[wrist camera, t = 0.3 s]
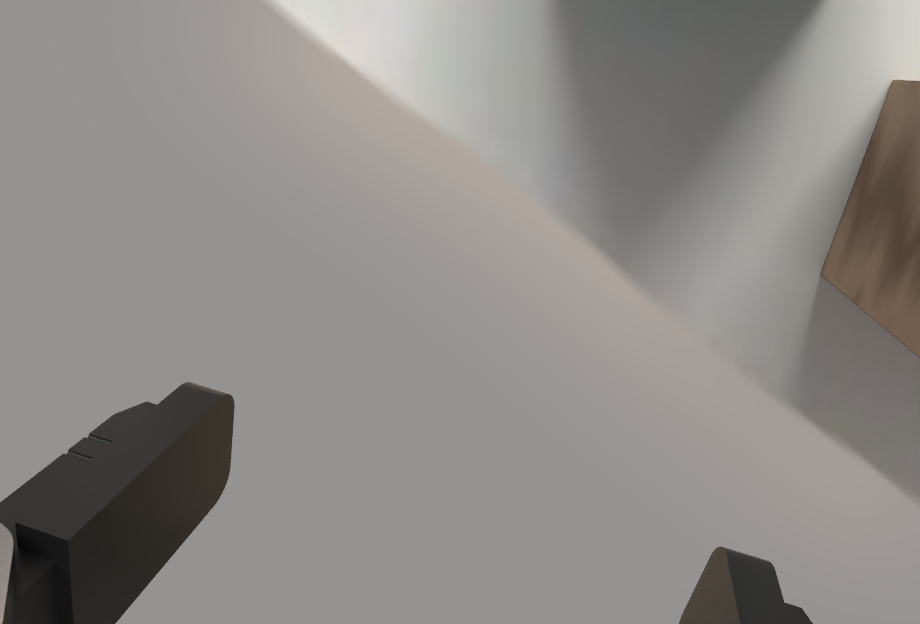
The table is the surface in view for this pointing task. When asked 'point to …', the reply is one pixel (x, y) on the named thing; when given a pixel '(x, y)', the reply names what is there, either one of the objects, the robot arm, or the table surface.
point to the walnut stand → (885, 222)
